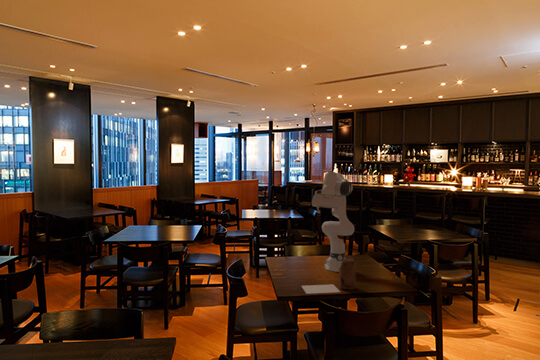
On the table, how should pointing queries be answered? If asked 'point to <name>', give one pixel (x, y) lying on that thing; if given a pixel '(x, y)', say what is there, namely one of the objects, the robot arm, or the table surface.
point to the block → (347, 274)
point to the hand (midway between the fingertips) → (325, 213)
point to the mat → (320, 289)
